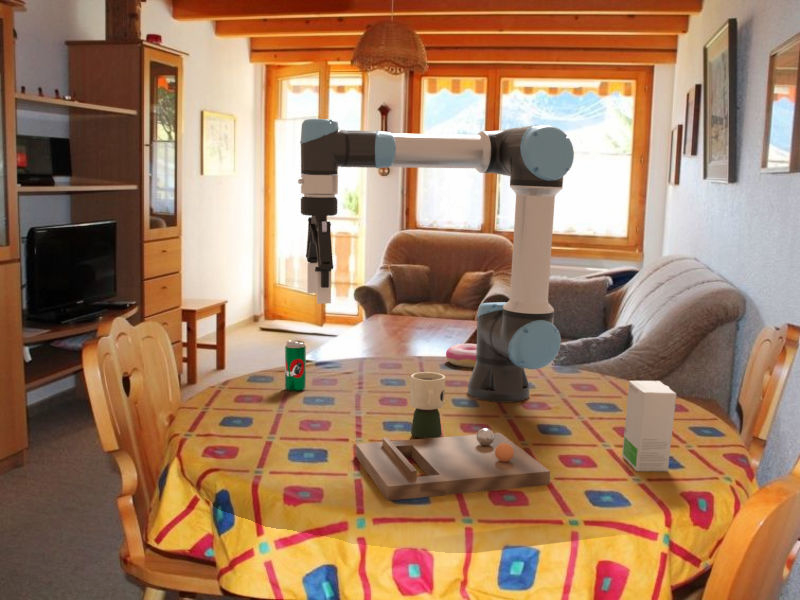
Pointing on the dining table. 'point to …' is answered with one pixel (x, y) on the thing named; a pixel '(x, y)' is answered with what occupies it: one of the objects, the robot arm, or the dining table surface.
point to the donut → (462, 355)
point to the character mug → (427, 403)
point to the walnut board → (447, 466)
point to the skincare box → (649, 425)
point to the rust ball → (504, 452)
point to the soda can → (295, 365)
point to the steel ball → (485, 436)
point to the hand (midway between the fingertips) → (318, 298)
